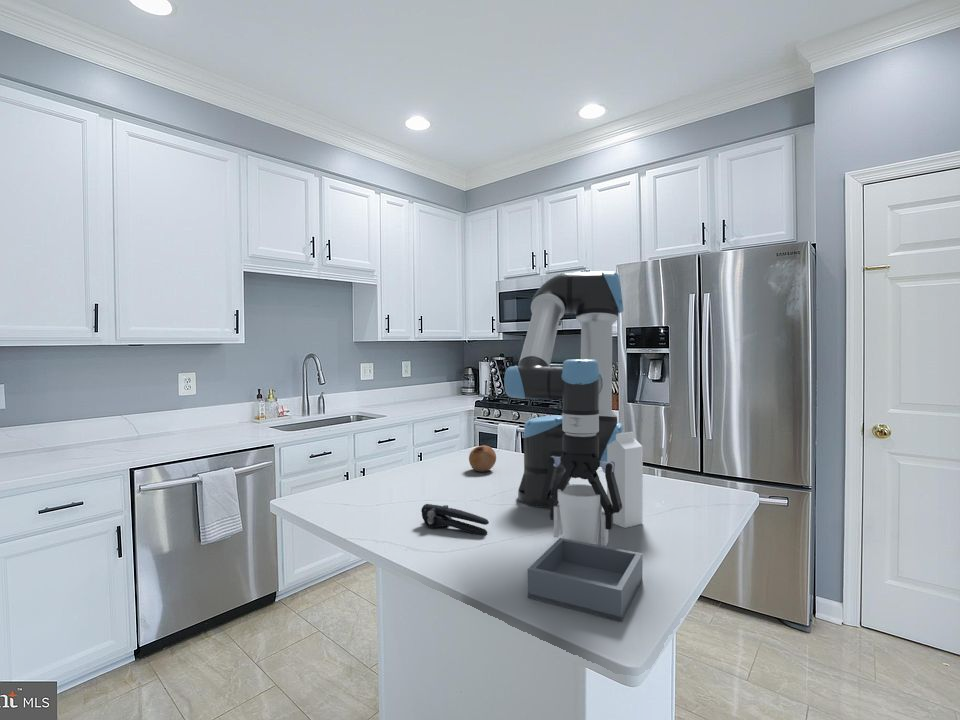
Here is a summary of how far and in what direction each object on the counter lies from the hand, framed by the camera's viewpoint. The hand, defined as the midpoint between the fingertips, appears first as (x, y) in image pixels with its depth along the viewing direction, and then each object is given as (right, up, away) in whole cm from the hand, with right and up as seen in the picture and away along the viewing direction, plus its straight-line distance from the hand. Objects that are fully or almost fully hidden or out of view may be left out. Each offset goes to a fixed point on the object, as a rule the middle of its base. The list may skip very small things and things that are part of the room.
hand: (580, 539), depth 106 cm
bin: (-2, -3, -16) cm, 16 cm away
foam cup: (0, -3, 0) cm, 3 cm away
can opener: (-27, -3, +14) cm, 31 cm away
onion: (-20, -1, +69) cm, 72 cm away
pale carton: (+14, -2, +17) cm, 23 cm away
